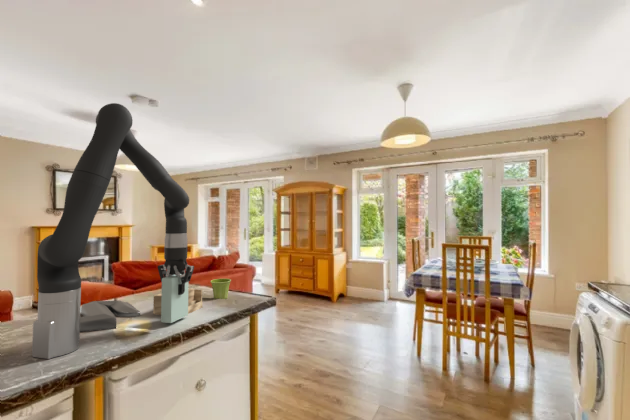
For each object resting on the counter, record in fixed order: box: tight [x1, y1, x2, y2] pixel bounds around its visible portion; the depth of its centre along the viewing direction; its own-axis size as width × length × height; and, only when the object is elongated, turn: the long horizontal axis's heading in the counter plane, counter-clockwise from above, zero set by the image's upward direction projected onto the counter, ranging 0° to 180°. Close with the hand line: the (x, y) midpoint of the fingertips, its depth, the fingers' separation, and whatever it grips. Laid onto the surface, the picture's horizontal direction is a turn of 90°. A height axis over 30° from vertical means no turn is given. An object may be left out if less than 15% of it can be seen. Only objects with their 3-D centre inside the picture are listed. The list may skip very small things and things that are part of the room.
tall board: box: [160, 274, 190, 324], centre depth 106 cm, size 9×4×15 cm, turn 167°
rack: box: [152, 288, 203, 316], centre depth 119 cm, size 13×13×8 cm
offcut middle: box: [188, 295, 194, 303], centre depth 118 cm, size 8×4×2 cm, turn 170°
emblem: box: [80, 300, 141, 333], centre depth 111 cm, size 28×5×28 cm
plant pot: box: [210, 278, 232, 300], centre depth 141 cm, size 9×9×9 cm
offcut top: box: [188, 287, 195, 297], centre depth 120 cm, size 6×4×2 cm, turn 163°
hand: (175, 293), depth 106 cm, fingers closed on tall board, 4 cm apart
